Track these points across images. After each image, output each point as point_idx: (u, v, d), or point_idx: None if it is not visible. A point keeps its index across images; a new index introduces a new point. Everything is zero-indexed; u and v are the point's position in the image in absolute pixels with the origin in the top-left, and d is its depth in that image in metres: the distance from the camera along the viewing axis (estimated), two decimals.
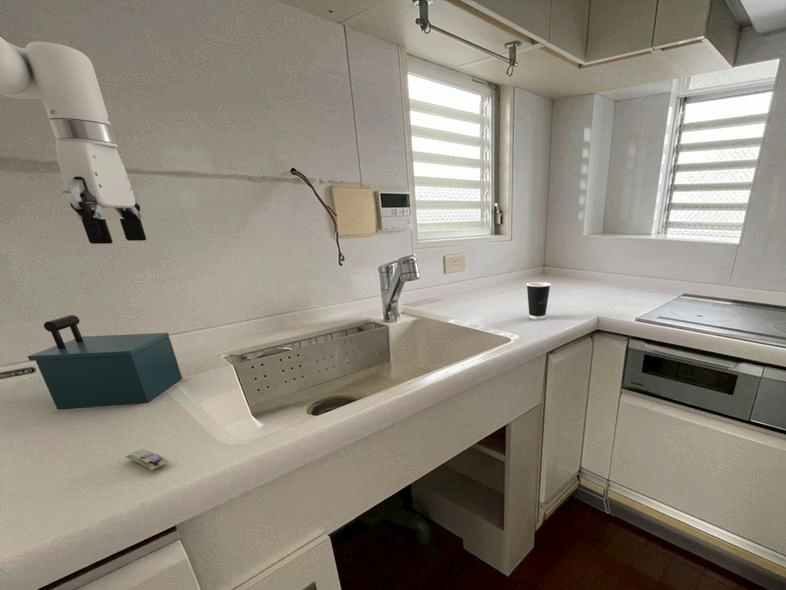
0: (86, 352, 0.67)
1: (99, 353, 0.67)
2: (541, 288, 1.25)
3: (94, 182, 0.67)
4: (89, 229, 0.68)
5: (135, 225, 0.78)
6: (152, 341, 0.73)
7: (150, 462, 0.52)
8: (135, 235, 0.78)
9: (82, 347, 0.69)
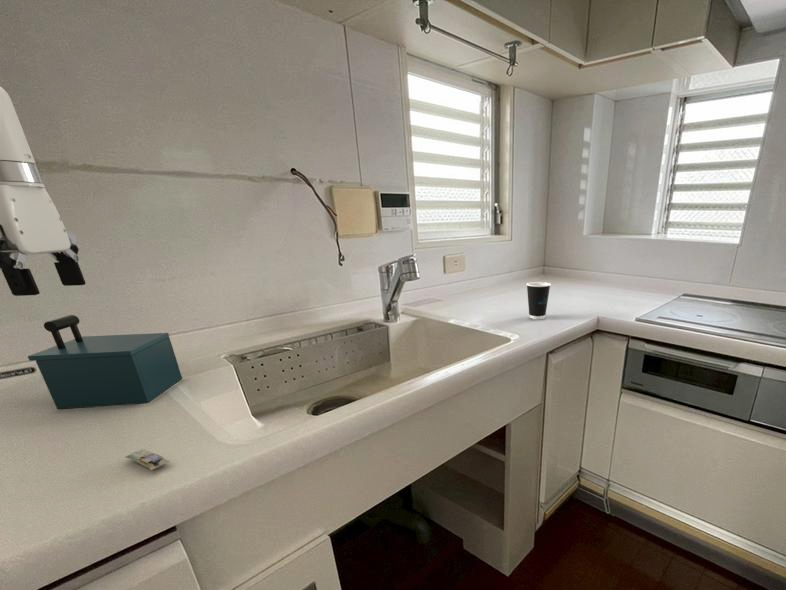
0: (86, 352, 0.67)
1: (99, 353, 0.67)
2: (541, 288, 1.25)
3: (14, 229, 0.60)
4: (10, 280, 0.61)
5: (72, 269, 0.70)
6: (152, 341, 0.73)
7: (150, 462, 0.52)
8: (72, 280, 0.71)
9: (82, 347, 0.69)
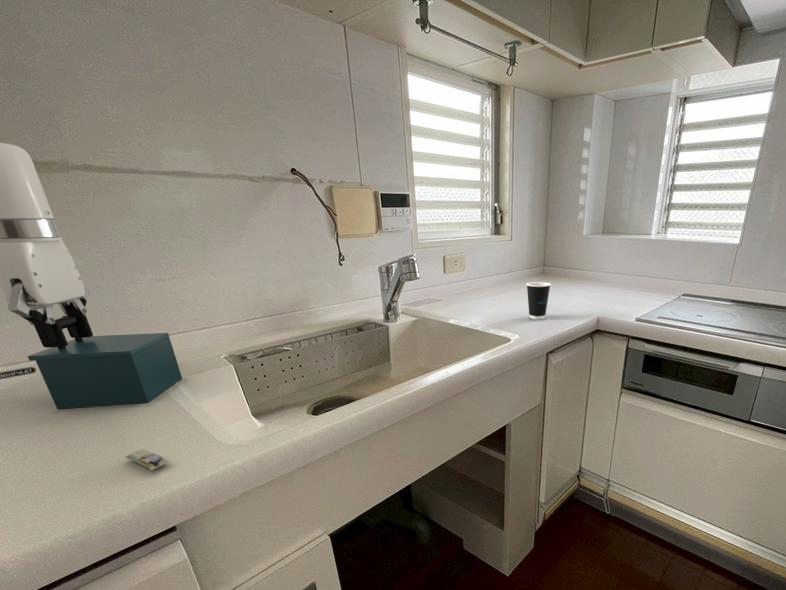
0: (86, 352, 0.67)
1: (99, 353, 0.67)
2: (541, 288, 1.25)
3: (33, 283, 0.62)
4: (42, 334, 0.66)
5: (80, 322, 0.72)
6: (152, 341, 0.73)
7: (150, 462, 0.52)
8: (80, 332, 0.72)
9: (82, 347, 0.69)
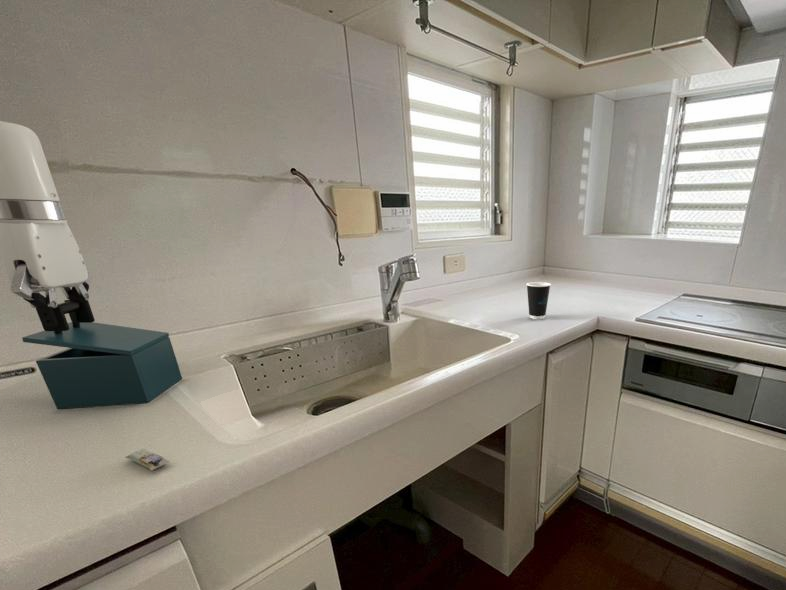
0: (85, 344, 0.66)
1: (98, 347, 0.66)
2: (541, 288, 1.25)
3: (36, 265, 0.62)
4: (43, 318, 0.65)
5: (82, 307, 0.71)
6: (152, 341, 0.73)
7: (150, 462, 0.52)
8: (82, 317, 0.71)
9: (80, 336, 0.68)
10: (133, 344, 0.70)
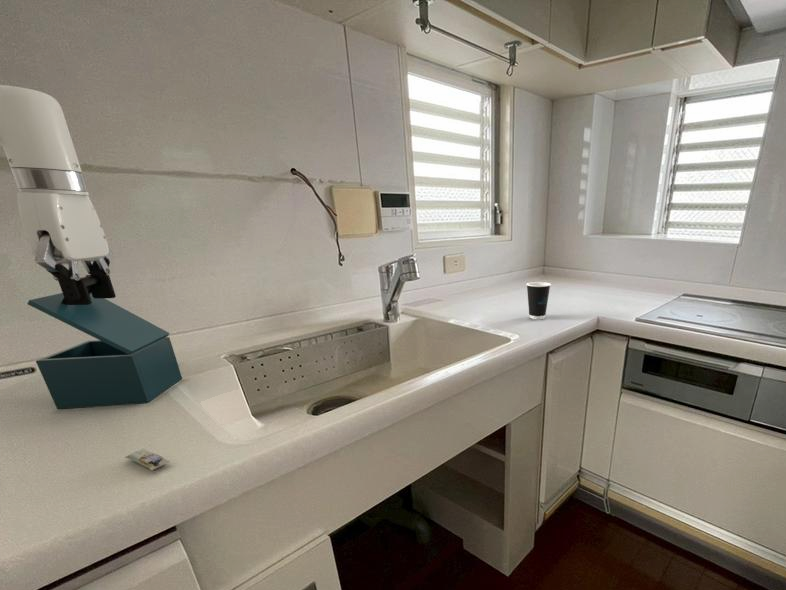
0: (89, 328, 0.65)
1: (101, 337, 0.66)
2: (541, 288, 1.25)
3: (60, 236, 0.61)
4: (66, 291, 0.64)
5: (103, 282, 0.70)
6: (153, 341, 0.73)
7: (150, 462, 0.52)
8: (103, 293, 0.71)
9: (85, 314, 0.67)
10: (135, 342, 0.70)
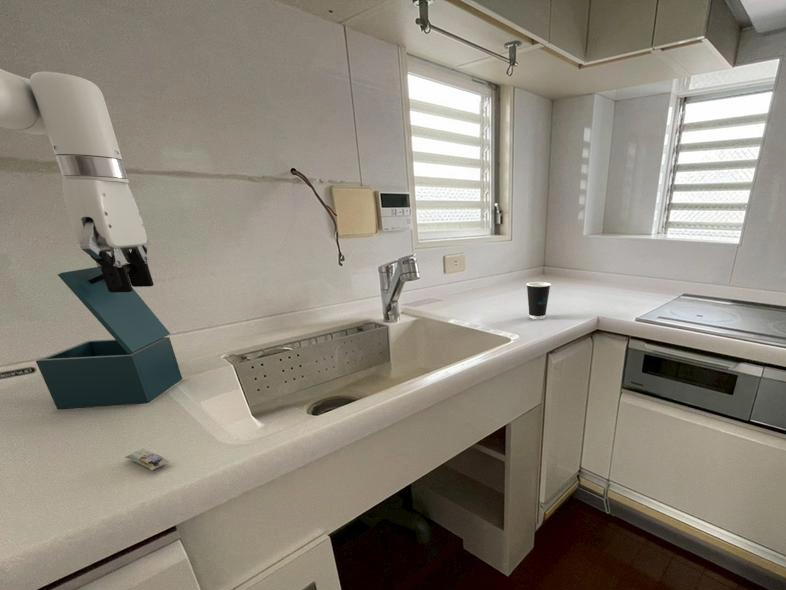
0: (104, 317, 0.65)
1: (111, 329, 0.66)
2: (541, 288, 1.25)
3: (104, 222, 0.61)
4: (109, 278, 0.65)
5: (142, 270, 0.71)
6: (153, 341, 0.73)
7: (150, 462, 0.52)
8: (141, 281, 0.71)
9: (105, 298, 0.67)
10: (138, 340, 0.70)
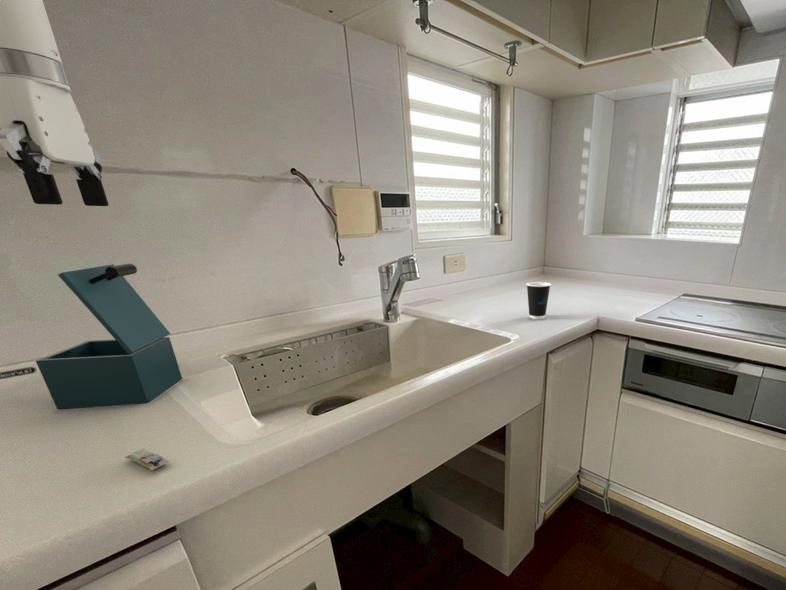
0: (104, 317, 0.65)
1: (111, 329, 0.66)
2: (541, 288, 1.25)
3: (38, 128, 0.56)
4: (32, 186, 0.57)
5: (95, 187, 0.66)
6: None
7: (150, 462, 0.52)
8: (95, 199, 0.67)
9: (105, 298, 0.67)
10: (138, 340, 0.70)
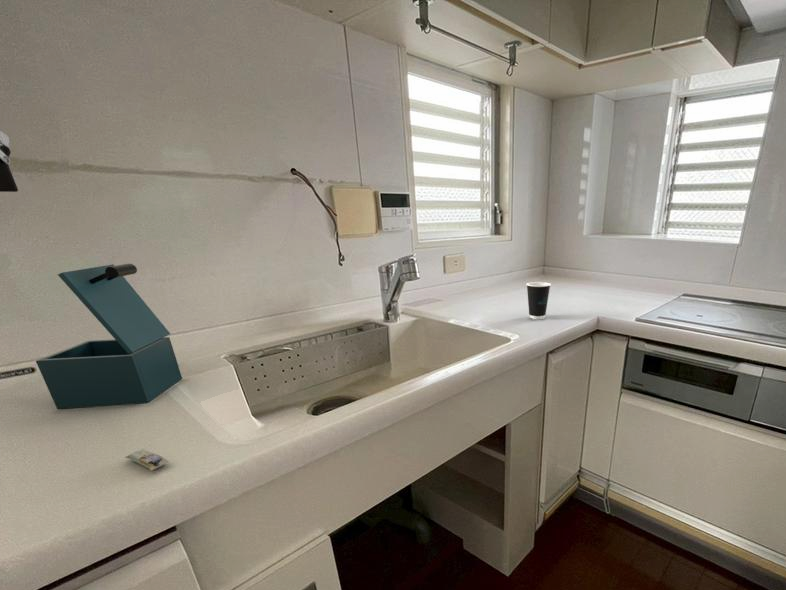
0: (104, 317, 0.65)
1: (111, 329, 0.66)
2: (541, 288, 1.25)
3: None
4: None
5: (1, 171, 0.62)
6: None
7: (150, 462, 0.52)
8: (2, 184, 0.63)
9: (105, 298, 0.67)
10: (138, 340, 0.70)
